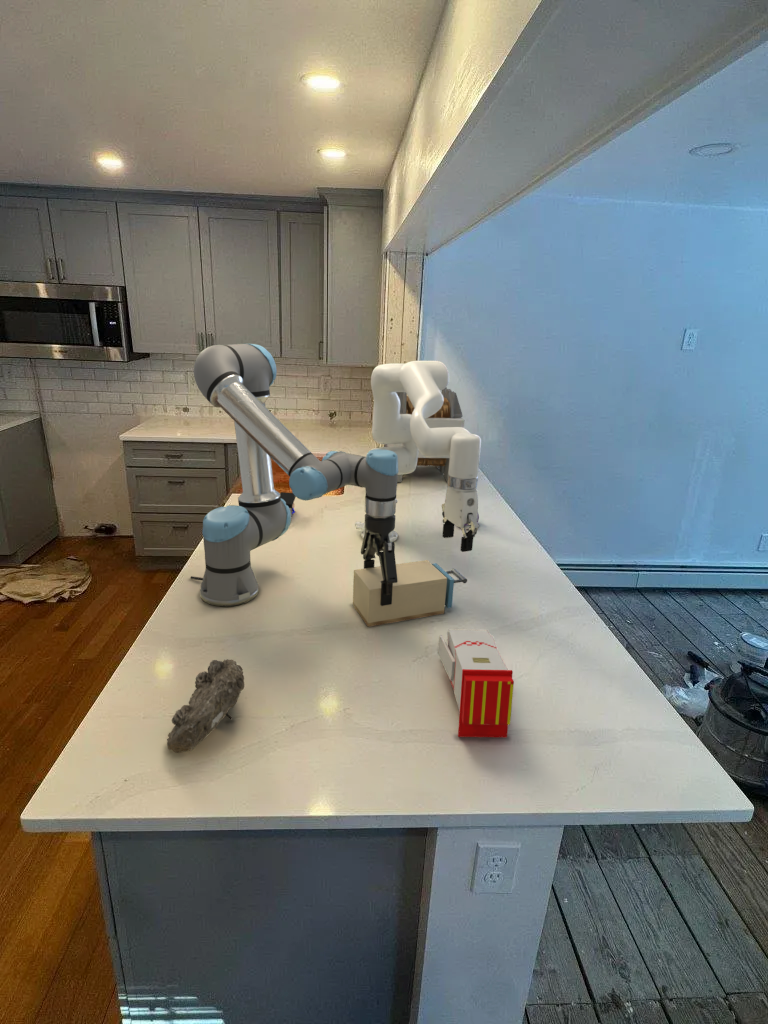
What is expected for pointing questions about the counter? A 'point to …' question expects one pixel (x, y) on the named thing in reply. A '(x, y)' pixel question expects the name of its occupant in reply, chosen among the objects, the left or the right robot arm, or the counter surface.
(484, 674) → the toy
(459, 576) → the drawer
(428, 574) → the tan storage bin
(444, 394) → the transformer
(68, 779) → the counter surface
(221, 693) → the fossil
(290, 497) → the figurine character
